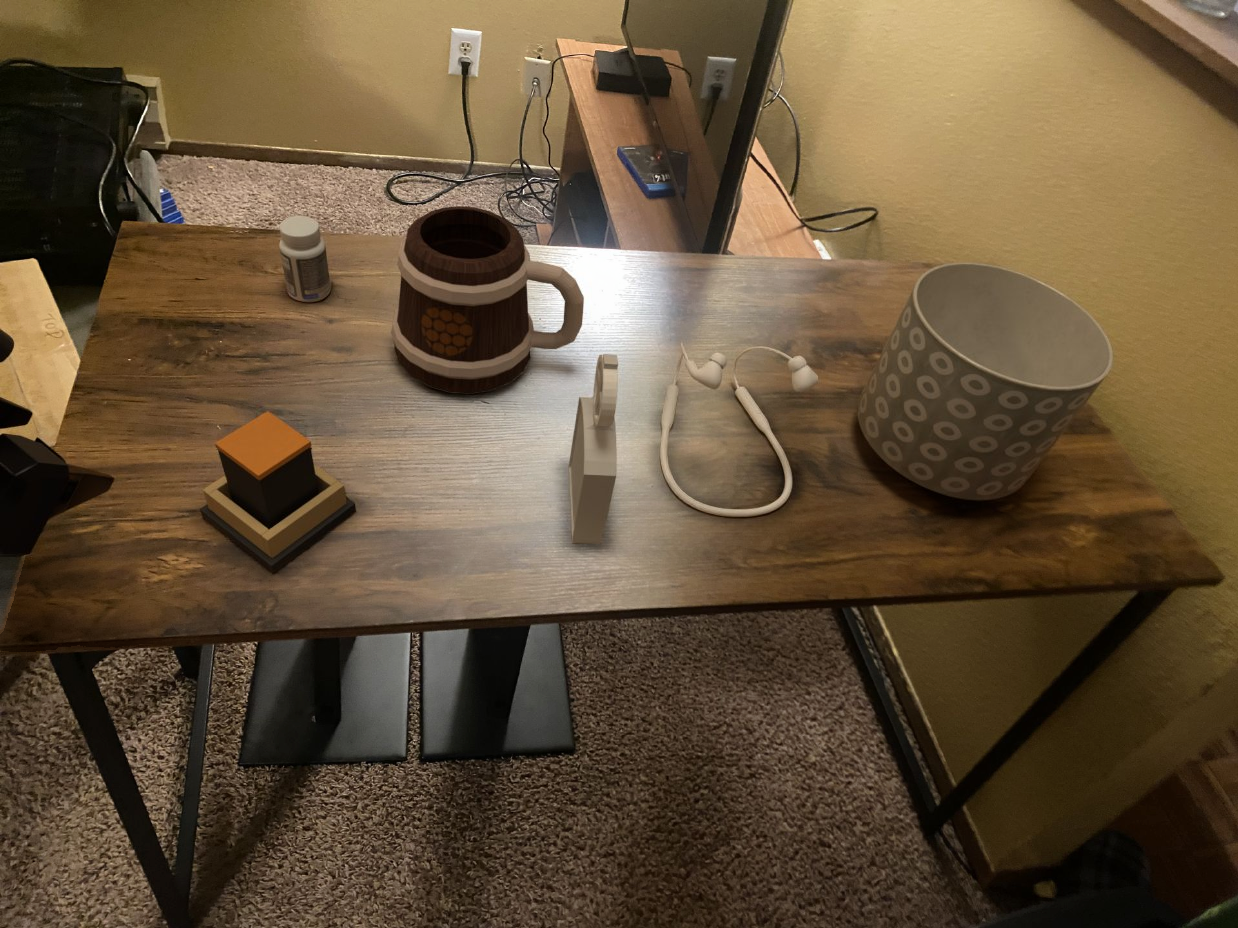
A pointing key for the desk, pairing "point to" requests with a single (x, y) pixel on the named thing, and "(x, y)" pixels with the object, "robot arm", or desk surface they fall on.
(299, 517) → the base pad
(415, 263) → the mug
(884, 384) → the planter
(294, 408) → the desk surface
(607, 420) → the gravestone
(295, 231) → the pill bottle
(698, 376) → the earphone
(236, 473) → the orange rectangular block
